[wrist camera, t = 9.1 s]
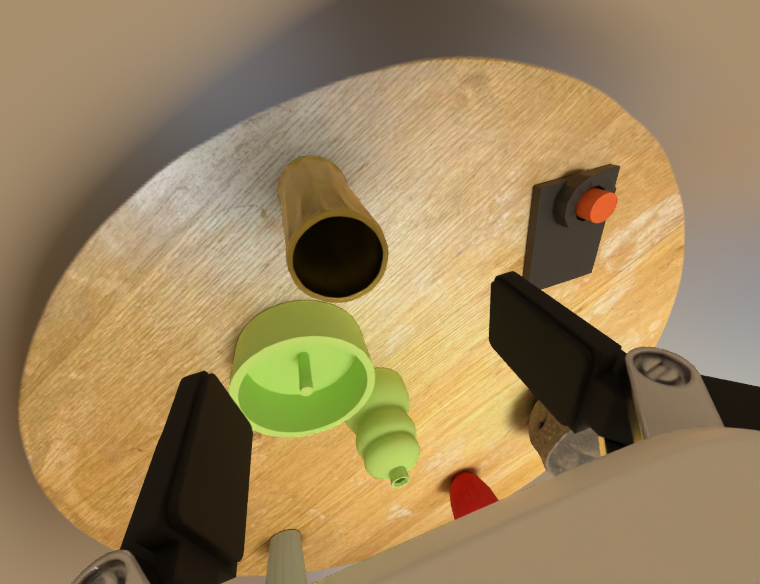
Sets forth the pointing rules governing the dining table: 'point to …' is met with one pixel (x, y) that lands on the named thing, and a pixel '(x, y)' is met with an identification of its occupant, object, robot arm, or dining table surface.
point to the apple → (469, 494)
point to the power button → (596, 205)
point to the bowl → (560, 442)
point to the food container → (323, 385)
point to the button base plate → (564, 228)
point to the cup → (286, 559)
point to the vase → (329, 233)
